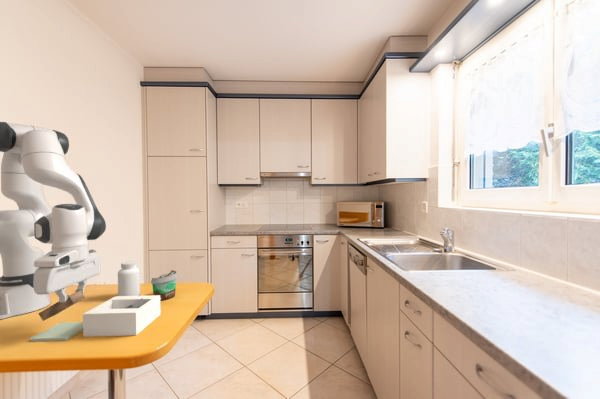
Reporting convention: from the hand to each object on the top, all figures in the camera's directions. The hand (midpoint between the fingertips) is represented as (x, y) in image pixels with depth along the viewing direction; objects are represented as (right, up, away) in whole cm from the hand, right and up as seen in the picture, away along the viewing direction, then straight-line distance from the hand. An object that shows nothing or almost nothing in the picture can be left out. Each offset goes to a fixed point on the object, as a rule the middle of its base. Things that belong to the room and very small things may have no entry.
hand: (72, 297), depth 81 cm
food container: (+17, -11, +27) cm, 34 cm away
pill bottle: (-1, -11, +29) cm, 31 cm away
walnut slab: (-3, -4, 0) cm, 4 cm away
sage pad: (-3, -11, 0) cm, 11 cm away
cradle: (+14, -7, +4) cm, 16 cm away
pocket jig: (+14, -11, +4) cm, 18 cm away
